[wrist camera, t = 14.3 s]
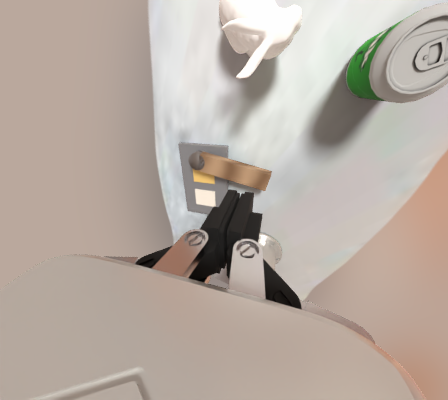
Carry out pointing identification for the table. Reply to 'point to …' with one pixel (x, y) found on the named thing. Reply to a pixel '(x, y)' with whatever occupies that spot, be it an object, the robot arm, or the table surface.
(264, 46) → the rabbit
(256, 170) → the swing bar
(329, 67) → the table surface
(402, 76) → the soda can
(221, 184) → the label board
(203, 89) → the table surface
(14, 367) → the robot arm
